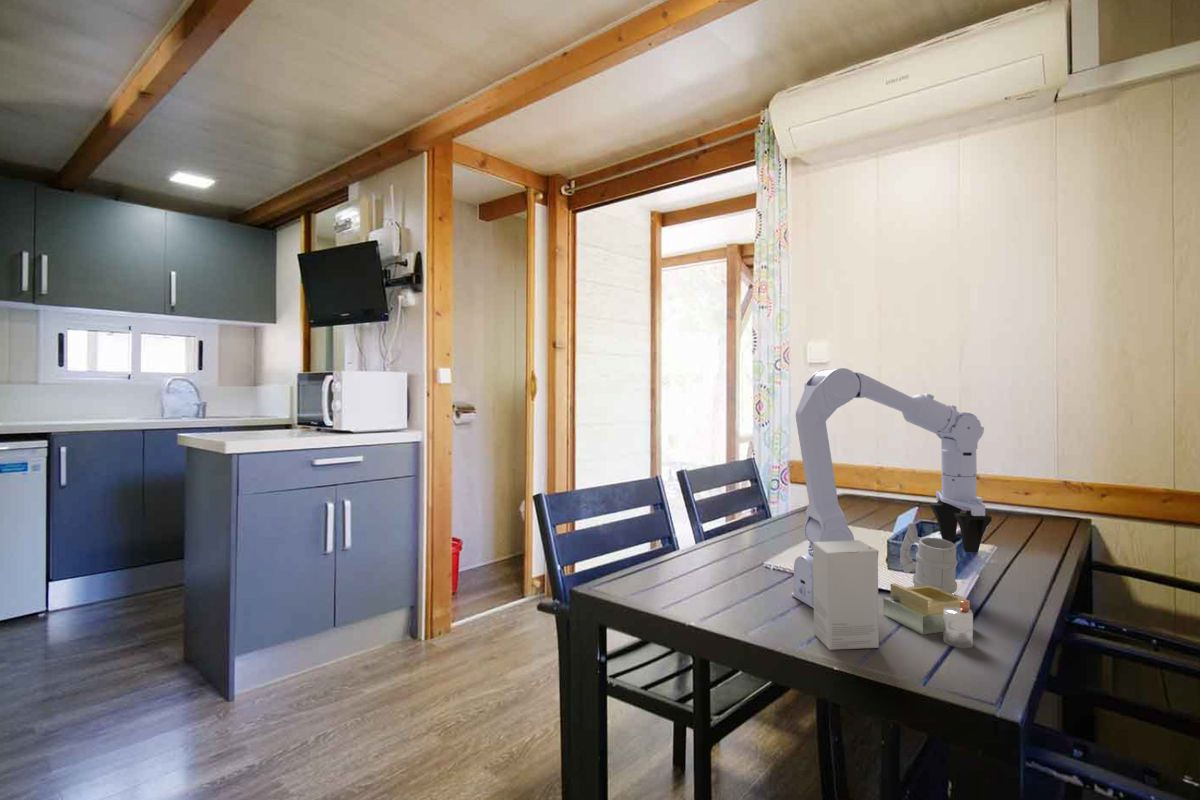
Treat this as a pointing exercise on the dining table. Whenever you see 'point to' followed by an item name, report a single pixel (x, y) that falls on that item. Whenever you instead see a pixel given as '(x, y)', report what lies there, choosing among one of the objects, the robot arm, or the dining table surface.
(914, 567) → the mug
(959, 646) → the spout can
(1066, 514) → the dining table surface
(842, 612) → the skincare box
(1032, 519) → the dining table surface
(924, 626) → the tan and green box
